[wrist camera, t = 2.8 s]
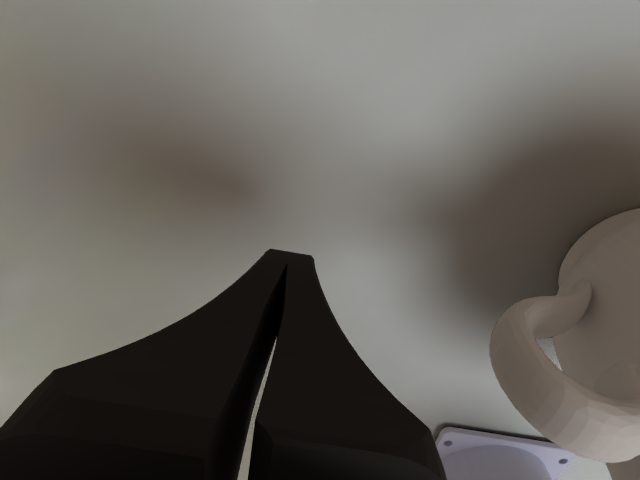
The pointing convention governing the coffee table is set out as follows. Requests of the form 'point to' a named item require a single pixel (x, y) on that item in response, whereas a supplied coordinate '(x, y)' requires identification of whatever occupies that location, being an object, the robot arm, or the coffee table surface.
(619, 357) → the teacup
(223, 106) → the coffee table surface
